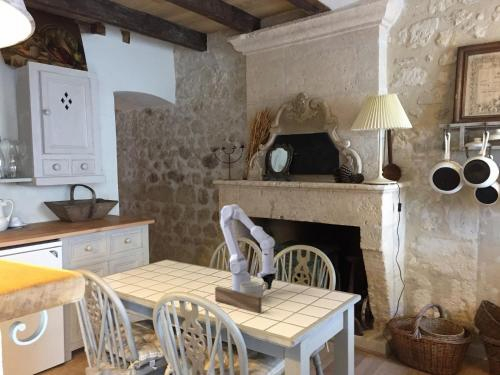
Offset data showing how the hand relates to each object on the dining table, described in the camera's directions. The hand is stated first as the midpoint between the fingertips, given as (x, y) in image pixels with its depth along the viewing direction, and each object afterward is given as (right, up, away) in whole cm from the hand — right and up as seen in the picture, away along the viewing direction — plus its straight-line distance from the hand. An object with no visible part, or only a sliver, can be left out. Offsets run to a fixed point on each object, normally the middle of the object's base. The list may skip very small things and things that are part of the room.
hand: (268, 289), depth 196 cm
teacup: (-7, -3, -8) cm, 11 cm away
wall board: (-15, -3, -18) cm, 23 cm away
